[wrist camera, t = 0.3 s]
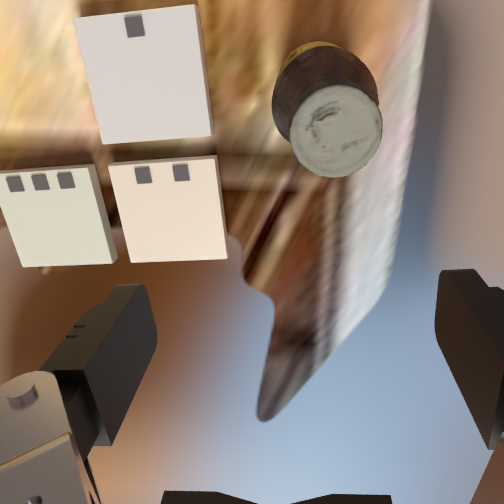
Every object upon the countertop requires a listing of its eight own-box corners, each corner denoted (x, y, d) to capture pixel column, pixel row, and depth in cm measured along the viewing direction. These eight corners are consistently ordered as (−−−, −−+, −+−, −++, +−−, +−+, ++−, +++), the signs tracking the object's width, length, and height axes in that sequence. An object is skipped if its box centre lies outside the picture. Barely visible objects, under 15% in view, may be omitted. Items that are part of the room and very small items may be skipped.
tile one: (81, 19, 35) (71, 18, 34) (198, 5, 34) (193, 3, 32) (109, 141, 39) (101, 144, 38) (214, 132, 38) (210, 136, 37)
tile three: (-2, 170, 42) (-13, 175, 40) (94, 163, 40) (86, 168, 39) (30, 260, 46) (21, 267, 44) (118, 256, 45) (111, 264, 43)
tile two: (114, 162, 40) (107, 166, 39) (217, 154, 39) (213, 159, 37) (136, 256, 44) (130, 263, 43) (229, 252, 43) (226, 259, 42)
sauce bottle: (280, 40, 34) (263, 32, 17) (357, 42, 34) (426, 36, 16) (276, 123, 37) (259, 192, 19) (348, 126, 37) (397, 199, 19)
